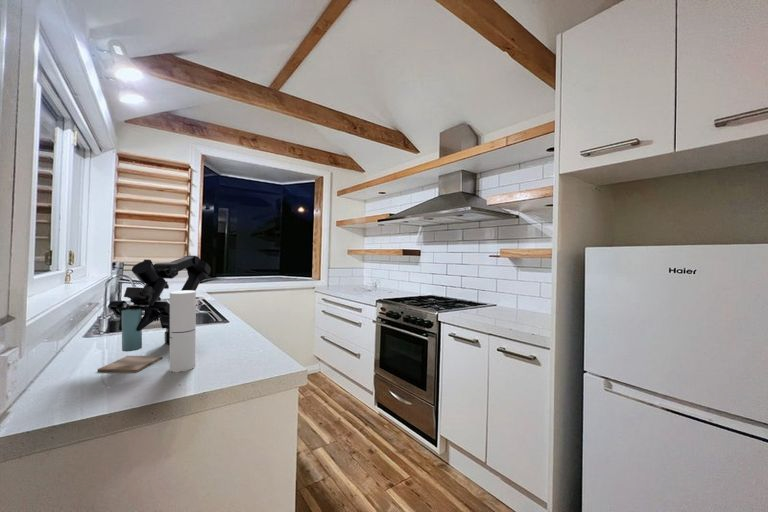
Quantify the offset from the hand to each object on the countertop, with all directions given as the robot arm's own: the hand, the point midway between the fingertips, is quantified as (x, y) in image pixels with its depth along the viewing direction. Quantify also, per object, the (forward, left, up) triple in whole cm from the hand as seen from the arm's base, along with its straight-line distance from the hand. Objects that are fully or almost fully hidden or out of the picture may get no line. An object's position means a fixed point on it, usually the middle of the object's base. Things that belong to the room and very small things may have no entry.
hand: (128, 330), depth 103 cm
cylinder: (-1, -1, -7) cm, 7 cm away
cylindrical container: (-12, +13, -12) cm, 21 cm away
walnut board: (-1, -1, -12) cm, 12 cm away
